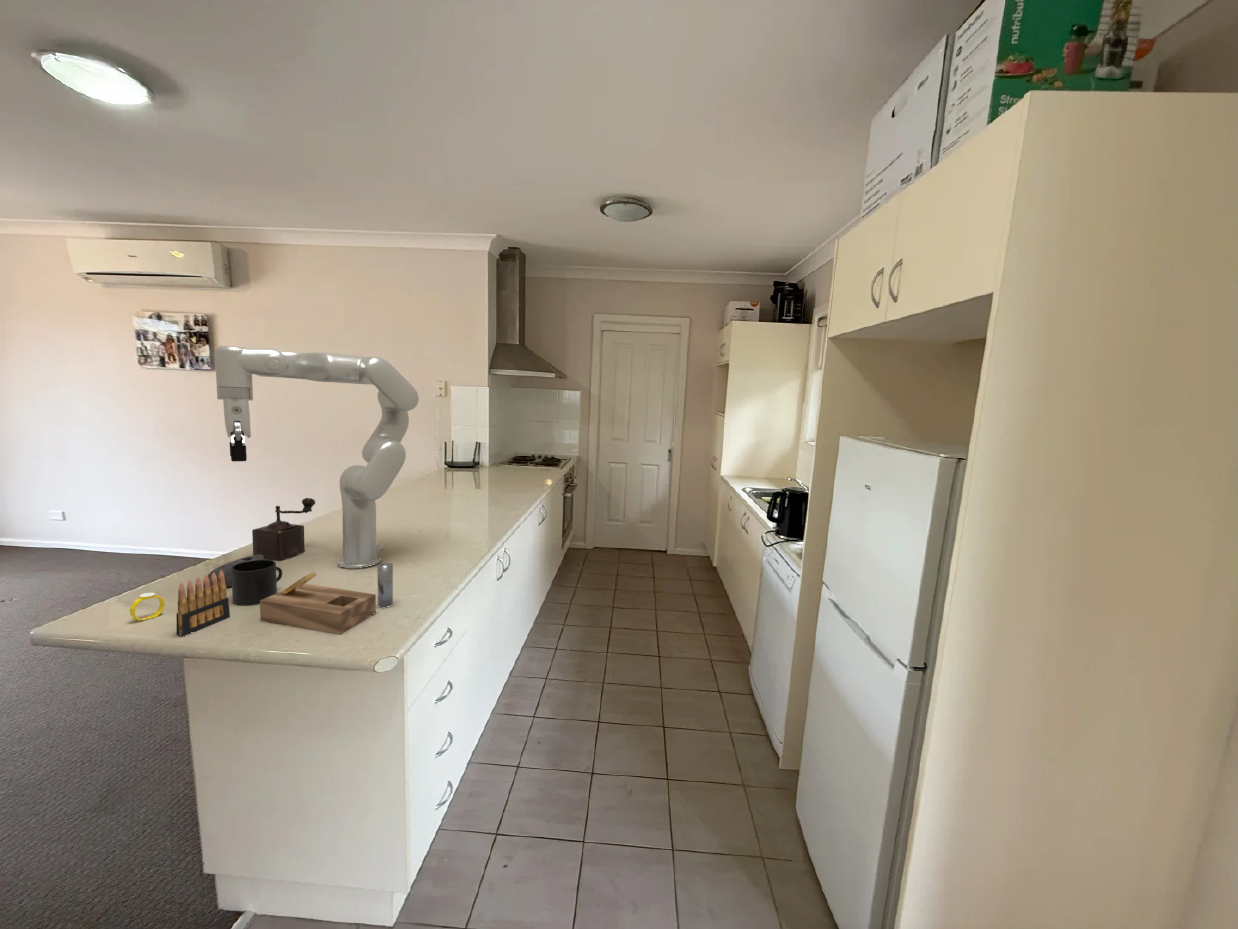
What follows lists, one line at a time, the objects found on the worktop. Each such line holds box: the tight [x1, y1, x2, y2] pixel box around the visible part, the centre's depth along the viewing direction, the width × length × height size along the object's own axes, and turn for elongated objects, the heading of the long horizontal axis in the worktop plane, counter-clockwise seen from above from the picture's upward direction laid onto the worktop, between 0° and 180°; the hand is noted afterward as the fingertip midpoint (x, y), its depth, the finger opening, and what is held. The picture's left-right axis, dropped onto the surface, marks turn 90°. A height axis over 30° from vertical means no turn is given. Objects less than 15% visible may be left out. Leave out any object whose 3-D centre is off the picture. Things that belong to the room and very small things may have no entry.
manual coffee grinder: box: [251, 497, 316, 562], centre depth 166 cm, size 16×11×18 cm
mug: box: [231, 559, 283, 606], centre depth 132 cm, size 9×12×9 cm
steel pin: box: [377, 562, 394, 608], centre depth 131 cm, size 4×4×11 cm
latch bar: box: [282, 571, 317, 595], centre depth 123 cm, size 3×8×1 cm
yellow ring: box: [129, 592, 166, 622], centre depth 117 cm, size 6×3×6 cm, turn 158°
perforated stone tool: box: [207, 554, 265, 588], centre depth 139 cm, size 15×5×7 cm, turn 153°
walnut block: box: [259, 583, 377, 635], centre depth 122 cm, size 12×22×5 cm, turn 78°
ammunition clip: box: [176, 570, 231, 638], centre depth 114 cm, size 11×2×12 cm, turn 167°
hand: (238, 458), depth 134 cm, fingers open, 9 cm apart
